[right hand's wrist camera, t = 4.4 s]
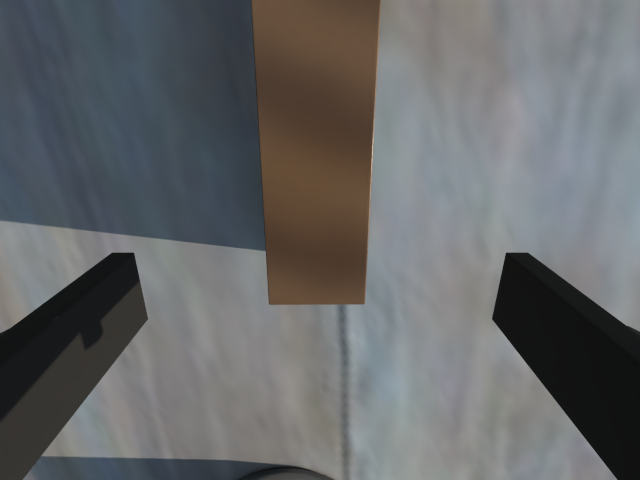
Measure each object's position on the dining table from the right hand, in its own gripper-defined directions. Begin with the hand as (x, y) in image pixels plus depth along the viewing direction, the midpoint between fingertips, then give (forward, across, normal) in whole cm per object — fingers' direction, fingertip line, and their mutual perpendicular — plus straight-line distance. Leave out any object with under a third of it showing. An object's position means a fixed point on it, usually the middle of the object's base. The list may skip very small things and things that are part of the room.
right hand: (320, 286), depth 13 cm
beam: (+15, 0, -33) cm, 36 cm away
